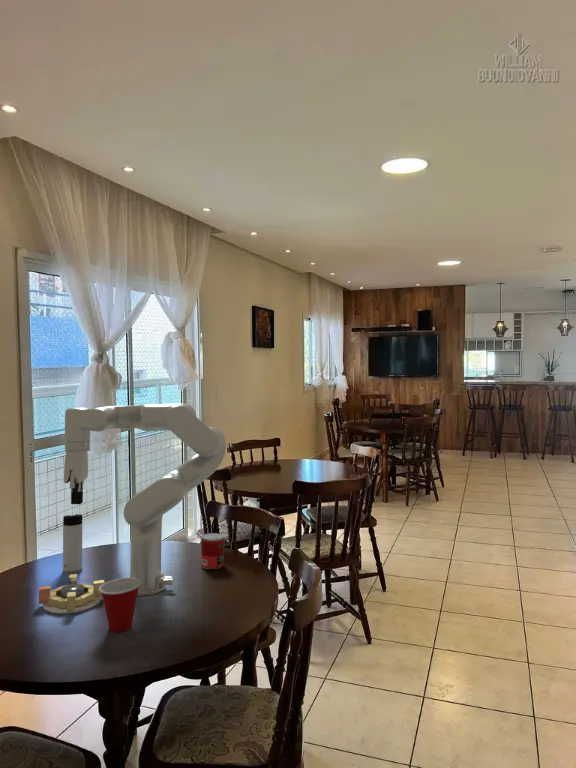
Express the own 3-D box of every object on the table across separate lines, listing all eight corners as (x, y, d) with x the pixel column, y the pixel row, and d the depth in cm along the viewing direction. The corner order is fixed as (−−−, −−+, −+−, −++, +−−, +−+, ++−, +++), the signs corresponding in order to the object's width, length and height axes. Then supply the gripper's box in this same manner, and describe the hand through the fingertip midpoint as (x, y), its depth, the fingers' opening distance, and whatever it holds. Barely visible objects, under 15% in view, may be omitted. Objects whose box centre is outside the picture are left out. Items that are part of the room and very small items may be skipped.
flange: (109, 593, 169) (109, 579, 169) (86, 615, 153) (86, 600, 153) (57, 591, 170) (57, 577, 170) (30, 613, 154) (30, 597, 154)
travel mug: (63, 576, 183) (64, 517, 182) (61, 569, 188) (62, 512, 188) (83, 573, 185) (83, 515, 185) (80, 567, 191) (81, 510, 191)
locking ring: (73, 586, 171) (73, 572, 171) (107, 594, 165) (107, 580, 165) (35, 603, 158) (35, 588, 158) (70, 612, 152) (71, 597, 152)
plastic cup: (107, 618, 151) (107, 575, 151) (145, 619, 151) (145, 576, 151) (91, 636, 141) (92, 590, 140) (133, 637, 140) (133, 591, 140)
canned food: (222, 570, 190) (222, 539, 190) (199, 570, 190) (199, 539, 190) (224, 563, 197) (225, 533, 197) (203, 562, 198) (203, 532, 197)
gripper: (73, 443, 179) (72, 498, 179) (56, 449, 164) (56, 509, 164) (96, 443, 180) (95, 498, 180) (82, 449, 165) (81, 509, 165)
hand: (76, 503), depth 172 cm, fingers closed
